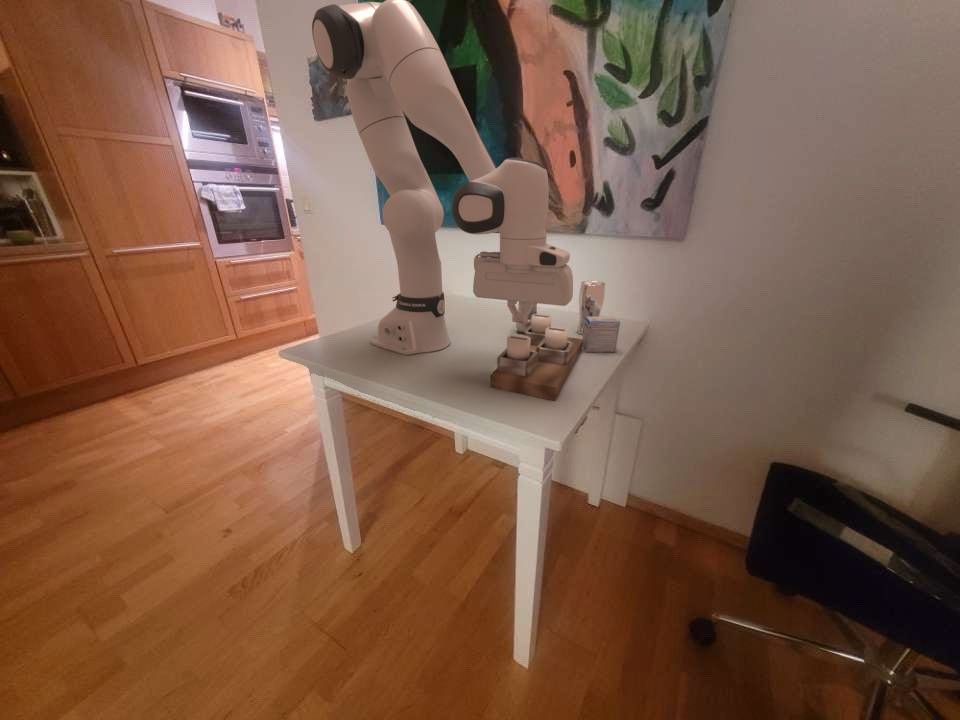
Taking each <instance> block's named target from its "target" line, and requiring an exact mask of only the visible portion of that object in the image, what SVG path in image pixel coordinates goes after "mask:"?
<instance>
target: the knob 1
mask: <svg viewBox="0 0 960 720" xmlns="http://www.w3.org/2000/svg"><path fill="white" fill-rule="evenodd" d="M530 343H531V338H530V337H528V336H525V335H523V334H511V335H509V336H507V338H506V348H507V357H508V358H509V359H515V360H526V359H528V358H529V357H530Z"/></svg>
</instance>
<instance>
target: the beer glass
mask: <svg viewBox="0 0 960 720" xmlns="http://www.w3.org/2000/svg"><path fill="white" fill-rule="evenodd" d="M605 286H606V283H605V282H602V281H600V280H599V281H598V280H597V281H596V280H585V281H581V283H580V289H579V294H578V295H579V296H578V312H579V322H578V326H577V328H576V329H577V330H576V332H577V333H578V334H579V335H581V336H583V332H584V323H585V317H600V316H601V311H602V308H603V305H604V300H605V293H606V291H605V289H606V288H605Z"/></svg>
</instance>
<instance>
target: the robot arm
mask: <svg viewBox="0 0 960 720" xmlns="http://www.w3.org/2000/svg"><path fill="white" fill-rule="evenodd" d="M311 29H312V30H311V33H312V39H313V44H314V47H315V50H316V51H315V52H316V54H317V57H318V59H319V62H320V64H321V65H322V66H323V68H324V69H325V70H326V71H327V72H328V73H329V74H330V75H331V76H333V77H335V78H337V79H343V80H347V82H346V87H345V91H346V97H347V100H348V104H349V108H350V113H351V116H352V119H353V122H354V124H355V128H356V130H357V133H358V136H359V137H360V140H361V143H362V145H363V148H364V150H365V152H366V156H367V158H368V160H369V162H370V165H371V167H372V169H373V172H374V174H375V176H376V177H377V178H378V179H379V180H380V182H381V183H382V185H383V186H384V188H385V190H386V191H387V194H388V195H389V197H388V199H386V201H385V203H384V205H383V208H382V221H383V224H384V226H385V228H386V229H387V231H388V233H389V237H390V240H391V241H390V242H391V244H392V245H391V246H392V248H393V251H394V255H395V261H396V264H397V272H398V273H397V274H398V281H399V291H400V292H399V294H397V295H394V296H393V297H391V299H393V300H391V301H392V302H396V304H395V307H394V308H392V310H390V311H389V312H388V313H387V314H386V315H384V316H383V317H382V318H381V319H380V320H379V323H378V327H377V331H378V332H377V334H375V335H374V336H373V337H372V338H371V339H370V344H371V345H373V346H376V347H380V348H382V349H385V350H389V351H392V352H394V353H399V354H402V355H406V356H410V355H413V354H414V355H415V354H420V353H431V352H436V351H440V350H442V349H445V348H447V347H448V346H449V345H450V344H451V343H452V342H451V339H450V336H449V333H448V329H447V324H446V318H445V313H446V311H445V309H446V304H445V301H446V300H445V293H444V292H443V278H442V277H443V276H442V275H443V274H442V262H441V259H440V258H441V257H440V254H439V250H438V245H437V239H436V233H437V232H438V231H439V230H440V228H441V227H442V224H443V221H444V215H445V213H444V207H443V206H442V203H441V201H440V199H439V196H438V194H437V192H436V190H435V187H434V184H433V183H432V181H431V179H430V176H429V175H428V171H427V170H426V167H425V166H424V164H423V162H422V160H421V157H420V155H419V152H418V150H417V146H416V145H415V142H414V139H413V136H412V133H411V130H410V127H409V125H408V122H407V120H406V117H407V119H408V120H409V121H410V123H411V124H412V125H414V126H415V127H417V128H418V129H420V130H422V131H423V132H425V133H426V134H428V135H429V136H431V137H433V138H435V140H437V141H439V142H440V143H441V144H443V145H444V146H445V147H446V148H447V149H449V151H451V153H452V154H453V155H454V157H455V158H456V159H457V161H458V164H459V165H460V167H461V169H462V170H463V173H464V174H465V175H466V177H467V180H468V181H467V182H465V183H462V184H461V185H460V186H459V187H458V188H457V189H456V191H455V192H454V195H453V197H452V202H451V213H452V217H453V220H454V223H456V225H457V227H458V228H459V229H460V230H461V231H463V232H465V233H467V234H471V235H475V236H476V235H478V236H480V235H489V234H499V251H480V253H478V254H476V255H475V256H474V258H473V269H474V276H473V285H472V292H473V294H474V296H475V297H476V298H481V299H489V300H500V301H507V303H506V304H507V307H508V309H509V311H510V313H511V316H512V317H511V318H512V319H511V321H512V322H513V323H516V322H519V323H527V322H528V314H529V312H530V311H531V309H532V308H533V306H534V303H537V304H540V305H552V306H561V307H565V306H567V305H568V304H569V303H571V301H572V300H573V297H574V277H573V270H572V268H571V267H570V266H569V265H568V263H569V261H570V259H571V254H570V252H569V251H567V250H566V249H562V248H560V247H558V246H554V245H552V244H549V243H547V237H548V236H547V230H546V221H547V217H548V214H549V199H550V197H549V195H550V191H549V190H550V189H549V175H548V171H547V169H546V167H545V166H544V165H543V164H542V163H540V162H539V161H536V160H531V159H527V158H521V157H508V158H506V159H504V160H503V162H501V164H500V165H499V166H498V167H497V165H496V163H495V162H494V160H493V157H492V156H491V154H490V152H489V150H488V148H487V146H486V145H485V142H484V140H483V139H482V136H481V134H480V132H479V131H478V129H477V127H476V125H475V123H474V121H473V120H472V118H471V115H470V113H469V111H468V109H467V106H466V105H465V103H464V100H463V98H462V96H461V93H460V92H459V89H458V87H457V85H456V82H455V80H454V77H453V75H452V74H451V71H450V69H449V66H448V64H447V61H446V60H445V57H444V55H443V53H442V50H441V48H440V46H439V44H438V43H437V41H436V39H435V37H434V35H433V33H432V32H431V30H430V28H429V27H428V26H427V24H426V23H425V21H424V19H423V17H422V15H420V13H419V12H418V10H417V9H416V8H415V6H414V5H413V4H411V2H409V1H408V0H384V1H383V2H376V1H362V2H355V3H348V4H347V3H346V4H341V5H337V4H329V5H325V6H322V7H321V8H319V9H317V10H316V11H315V14H314V16H313V19H312V25H311ZM519 302H525V307H527V309H526V311H525V312H524V313H521V312H518V308H517V306H516V305H517V304H518V303H519Z"/></svg>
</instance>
